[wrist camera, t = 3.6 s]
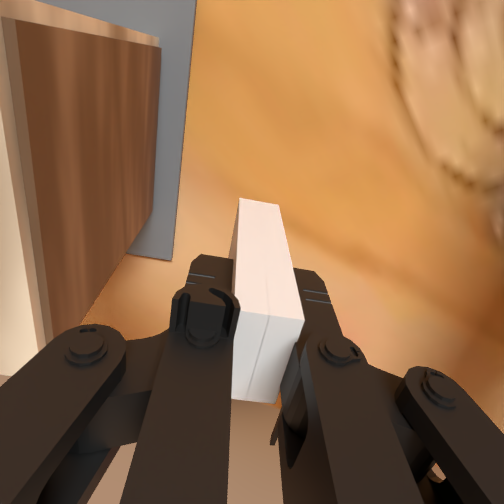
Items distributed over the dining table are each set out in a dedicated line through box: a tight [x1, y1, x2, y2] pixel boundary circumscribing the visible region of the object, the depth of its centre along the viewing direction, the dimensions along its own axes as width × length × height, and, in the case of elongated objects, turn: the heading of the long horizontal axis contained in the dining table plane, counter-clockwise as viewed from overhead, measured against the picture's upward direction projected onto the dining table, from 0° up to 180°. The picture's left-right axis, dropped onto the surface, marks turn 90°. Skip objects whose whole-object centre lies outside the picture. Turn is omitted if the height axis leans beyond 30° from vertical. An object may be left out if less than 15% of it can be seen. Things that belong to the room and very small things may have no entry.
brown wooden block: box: [0, 0, 162, 376], centre depth 17 cm, size 4×12×16 cm, turn 169°
